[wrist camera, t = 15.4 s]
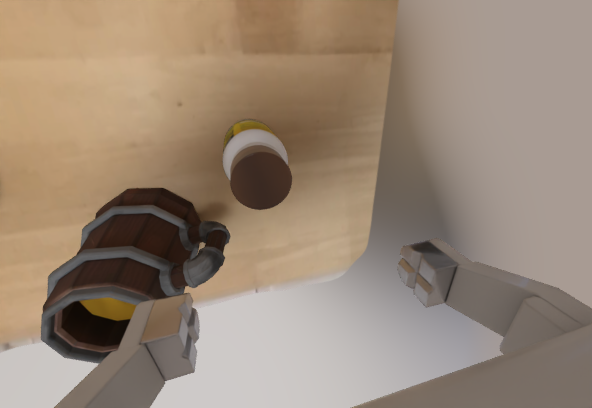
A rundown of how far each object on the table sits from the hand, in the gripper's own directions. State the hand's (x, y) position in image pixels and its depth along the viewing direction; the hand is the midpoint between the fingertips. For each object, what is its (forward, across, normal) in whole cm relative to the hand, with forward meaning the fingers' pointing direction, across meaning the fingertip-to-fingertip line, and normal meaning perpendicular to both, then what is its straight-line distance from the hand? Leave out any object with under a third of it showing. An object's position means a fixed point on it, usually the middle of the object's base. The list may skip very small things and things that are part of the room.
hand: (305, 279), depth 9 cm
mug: (+24, +12, +9) cm, 28 cm away
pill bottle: (+24, 0, 0) cm, 24 cm away
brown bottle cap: (+13, 0, 0) cm, 13 cm away
